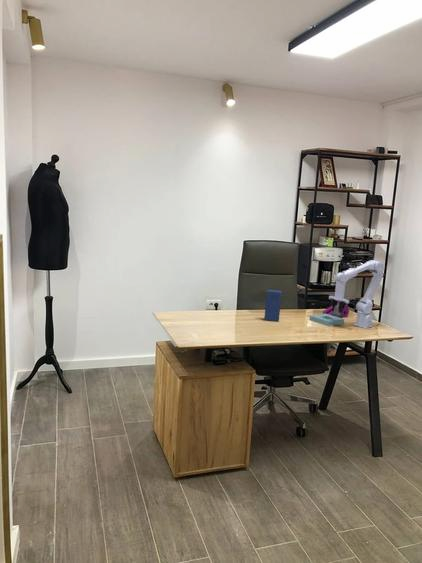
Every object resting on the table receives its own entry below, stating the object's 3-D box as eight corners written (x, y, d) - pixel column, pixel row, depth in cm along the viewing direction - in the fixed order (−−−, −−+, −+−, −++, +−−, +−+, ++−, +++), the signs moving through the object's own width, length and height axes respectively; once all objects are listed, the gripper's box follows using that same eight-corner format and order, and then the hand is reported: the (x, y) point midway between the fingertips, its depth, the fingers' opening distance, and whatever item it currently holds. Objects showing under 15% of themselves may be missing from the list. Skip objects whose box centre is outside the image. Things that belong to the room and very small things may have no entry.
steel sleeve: (341, 316, 301) (342, 305, 299) (337, 317, 298) (338, 306, 297) (336, 314, 304) (337, 304, 303) (331, 315, 301) (333, 304, 300)
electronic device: (278, 320, 307) (281, 290, 304) (278, 321, 302) (281, 291, 299) (264, 318, 308) (266, 289, 304) (264, 320, 303) (267, 290, 299)
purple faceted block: (331, 326, 323) (350, 314, 330) (329, 316, 320) (347, 304, 327) (322, 323, 331) (340, 311, 338) (319, 313, 328) (338, 301, 335)
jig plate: (343, 323, 310) (344, 319, 309) (328, 326, 300) (328, 321, 300) (324, 317, 322) (325, 313, 322) (309, 320, 313) (310, 315, 312)
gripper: (326, 289, 301) (324, 309, 304) (345, 294, 290) (342, 315, 293) (333, 288, 306) (331, 308, 308) (352, 293, 294) (349, 314, 297)
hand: (337, 311), depth 301 cm, fingers closed on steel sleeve, 4 cm apart
